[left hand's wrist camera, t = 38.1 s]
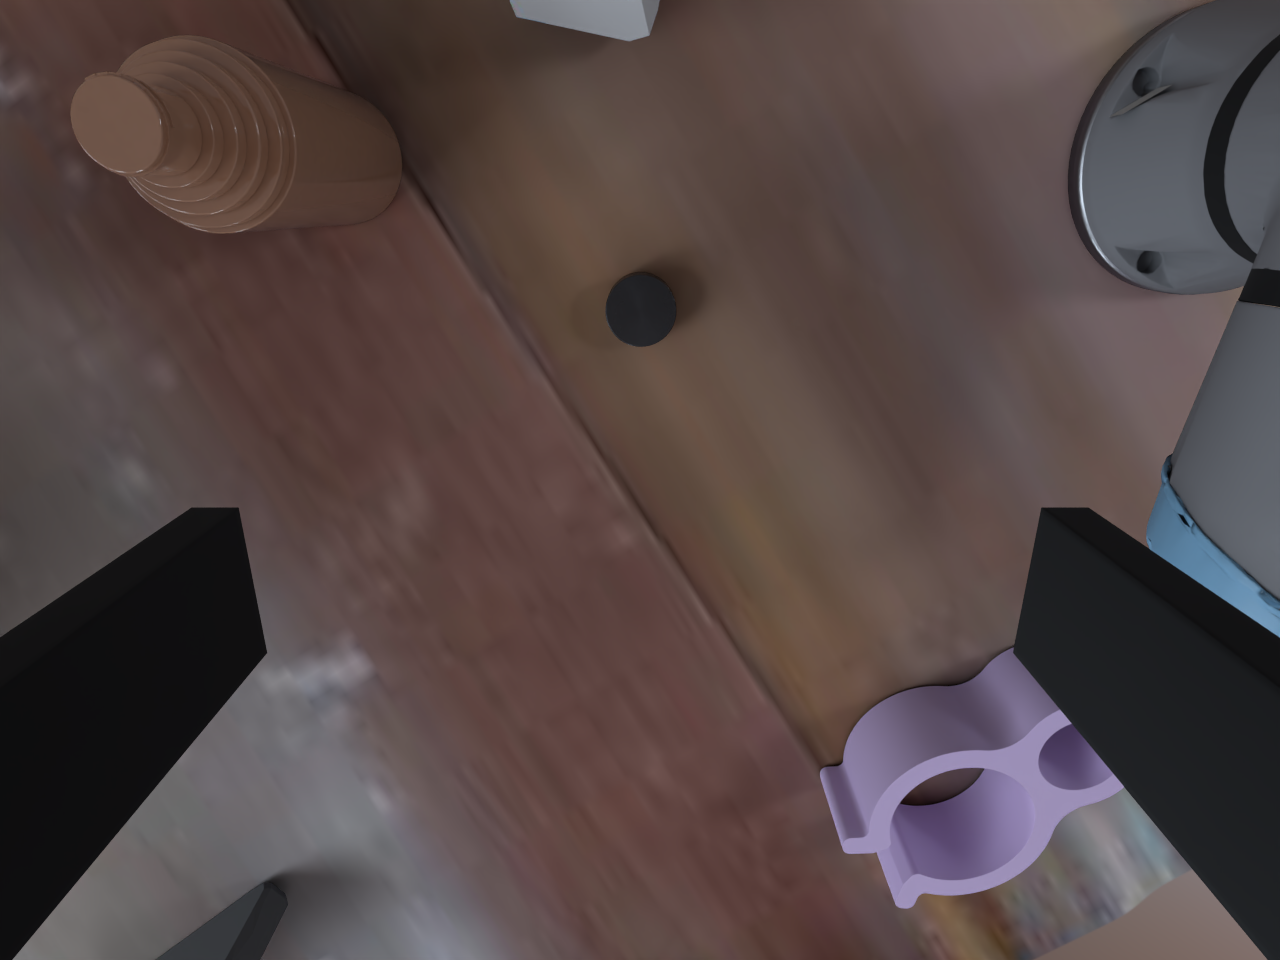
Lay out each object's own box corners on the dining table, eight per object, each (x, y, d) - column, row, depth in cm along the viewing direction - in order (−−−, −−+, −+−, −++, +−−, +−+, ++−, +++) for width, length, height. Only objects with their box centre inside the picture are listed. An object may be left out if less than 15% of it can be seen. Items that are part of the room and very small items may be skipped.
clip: (1030, 605, 53) (1085, 662, 47) (1115, 718, 56) (1177, 786, 50) (798, 754, 57) (818, 825, 51) (889, 851, 61) (919, 929, 54)
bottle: (424, 195, 44) (269, 189, 26) (317, 244, 45) (91, 272, 26) (363, 66, 42) (143, -43, 23) (251, 120, 43) (-46, 57, 24)
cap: (679, 276, 46) (680, 279, 44) (670, 345, 47) (671, 350, 45) (610, 268, 45) (609, 270, 44) (603, 337, 47) (602, 342, 45)
